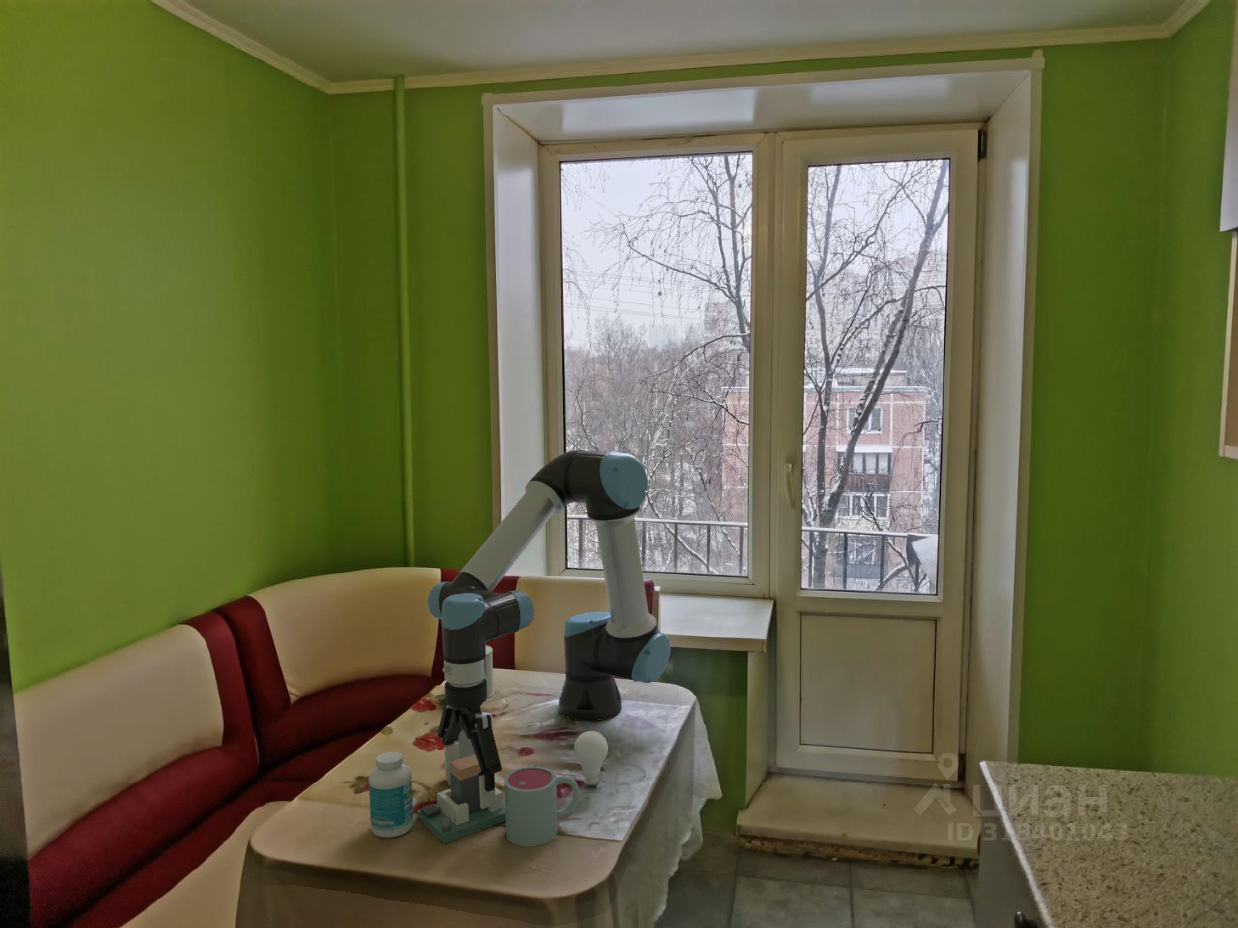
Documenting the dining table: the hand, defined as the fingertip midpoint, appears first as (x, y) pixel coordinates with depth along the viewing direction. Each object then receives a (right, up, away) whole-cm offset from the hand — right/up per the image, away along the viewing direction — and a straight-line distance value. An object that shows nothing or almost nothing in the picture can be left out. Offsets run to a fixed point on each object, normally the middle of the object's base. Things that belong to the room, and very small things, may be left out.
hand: (469, 791), depth 157 cm
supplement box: (-2, -3, +15) cm, 16 cm away
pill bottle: (-13, -6, -3) cm, 15 cm away
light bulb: (+22, -3, +11) cm, 25 cm away
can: (-9, +2, +59) cm, 60 cm away
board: (-1, -5, 0) cm, 5 cm away
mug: (+14, -5, -4) cm, 16 cm away
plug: (0, -3, +1) cm, 3 cm away
